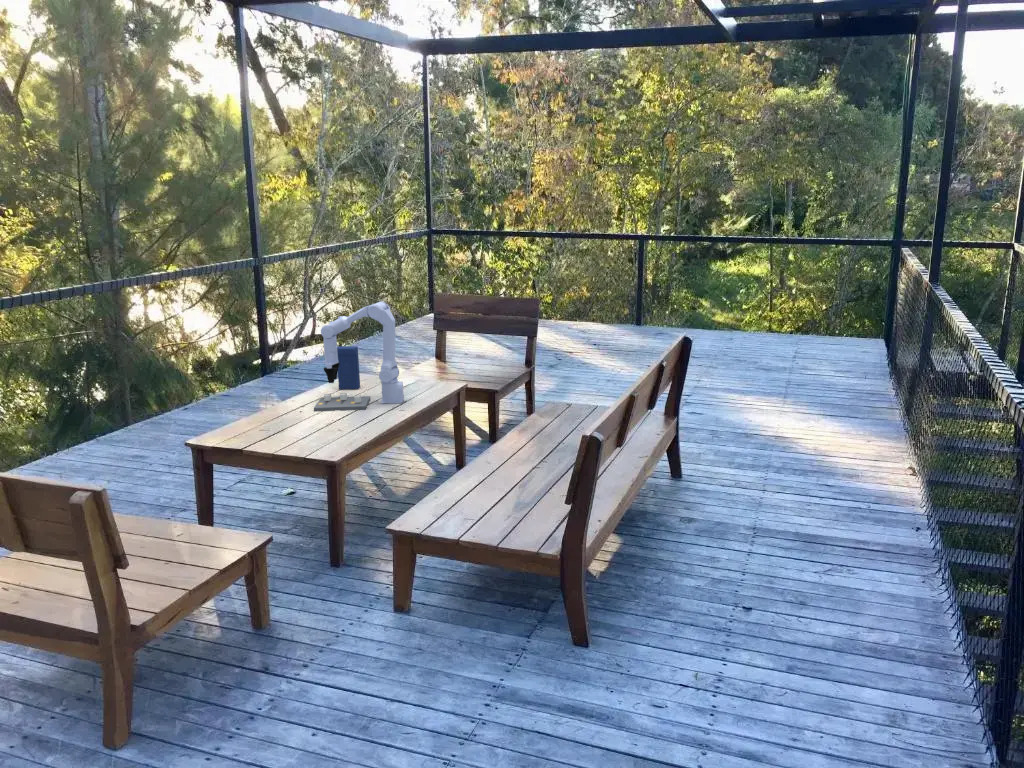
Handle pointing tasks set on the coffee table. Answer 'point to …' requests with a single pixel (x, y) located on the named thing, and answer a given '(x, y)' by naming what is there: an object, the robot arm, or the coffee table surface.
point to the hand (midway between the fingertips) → (332, 381)
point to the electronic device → (348, 367)
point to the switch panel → (342, 404)
